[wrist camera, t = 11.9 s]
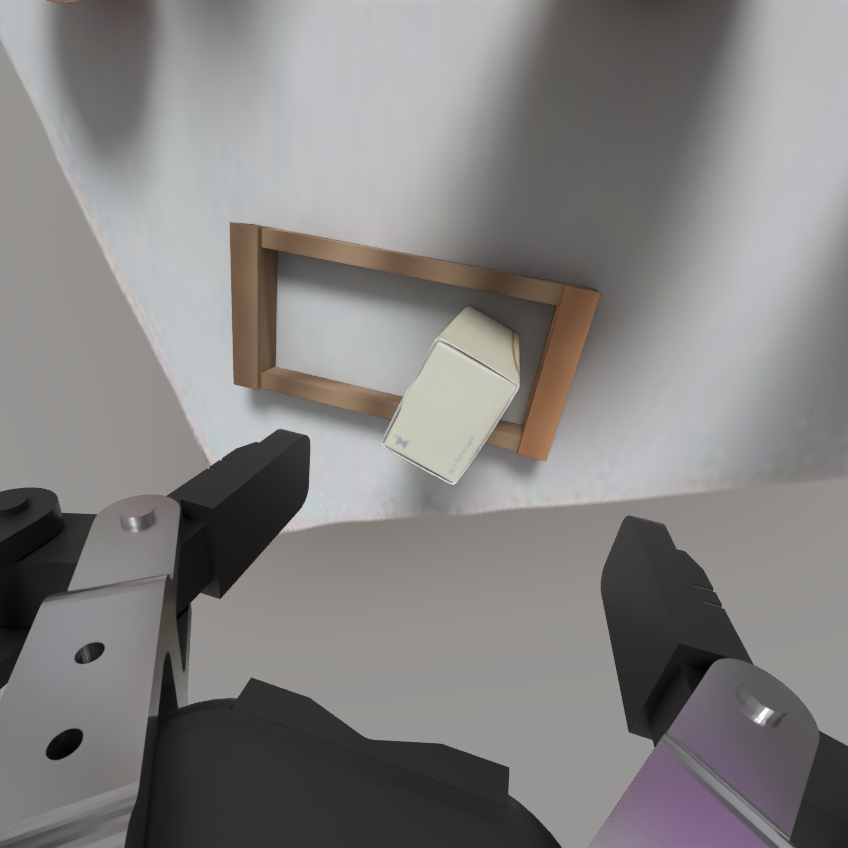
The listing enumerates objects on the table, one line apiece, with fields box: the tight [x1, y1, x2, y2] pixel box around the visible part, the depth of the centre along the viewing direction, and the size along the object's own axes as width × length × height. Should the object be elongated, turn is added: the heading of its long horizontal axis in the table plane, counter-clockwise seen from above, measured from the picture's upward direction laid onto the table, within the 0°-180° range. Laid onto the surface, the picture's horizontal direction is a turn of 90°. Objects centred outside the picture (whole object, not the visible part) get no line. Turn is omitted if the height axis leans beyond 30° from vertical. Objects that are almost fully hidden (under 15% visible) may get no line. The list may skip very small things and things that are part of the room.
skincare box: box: [380, 306, 520, 485], centre depth 25 cm, size 6×4×12 cm
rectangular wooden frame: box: [230, 222, 601, 461], centre depth 30 cm, size 24×11×2 cm, turn 80°
